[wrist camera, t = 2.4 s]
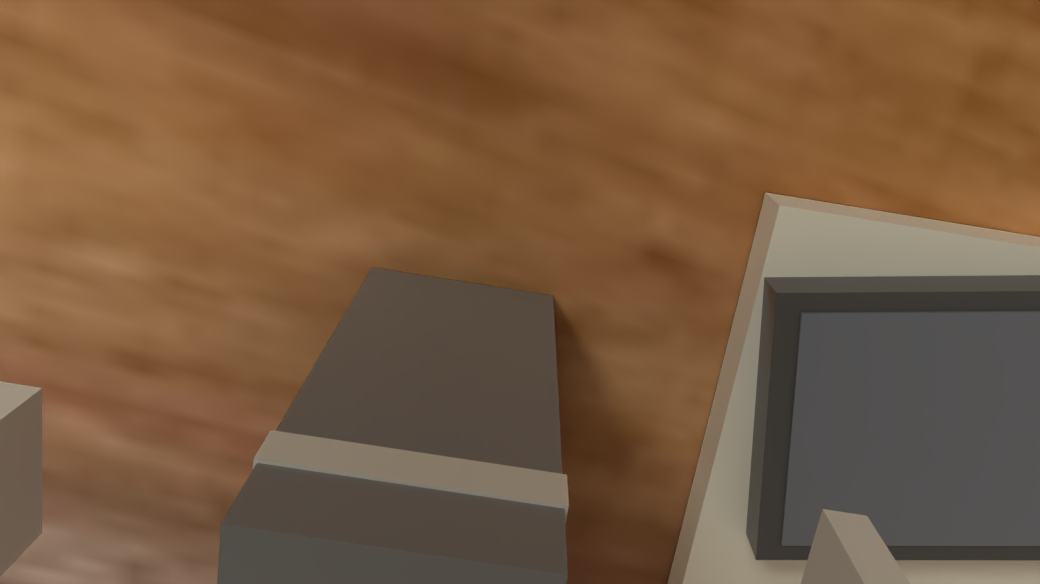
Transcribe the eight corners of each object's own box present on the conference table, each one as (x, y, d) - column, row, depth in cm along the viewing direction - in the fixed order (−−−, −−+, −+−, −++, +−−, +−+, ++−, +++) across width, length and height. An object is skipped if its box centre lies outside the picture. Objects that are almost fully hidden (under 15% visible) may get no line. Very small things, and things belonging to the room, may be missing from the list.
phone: (764, 277, 18) (776, 294, 17) (1320, 272, 18) (1366, 289, 17) (746, 533, 20) (756, 562, 19) (1249, 533, 20) (1287, 562, 19)
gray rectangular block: (370, 264, 20) (217, 519, 10) (556, 293, 20) (573, 572, 10) (351, 432, 21) (199, 794, 12) (526, 457, 21) (516, 837, 12)
